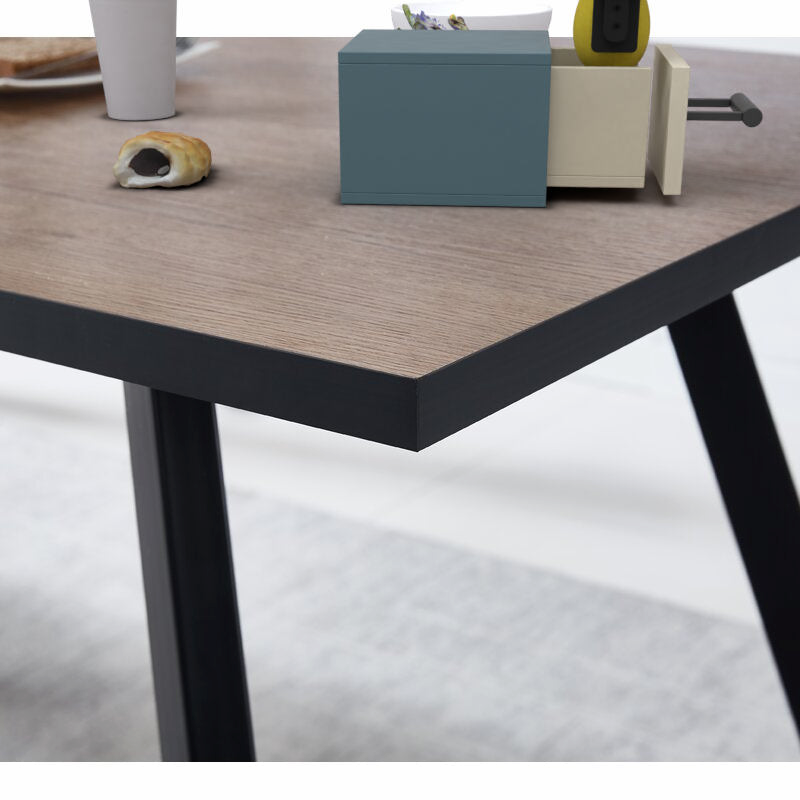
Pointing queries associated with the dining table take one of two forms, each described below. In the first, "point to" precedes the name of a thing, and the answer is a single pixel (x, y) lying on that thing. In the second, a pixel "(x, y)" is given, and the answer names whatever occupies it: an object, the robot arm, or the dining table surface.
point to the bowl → (479, 14)
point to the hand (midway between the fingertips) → (611, 44)
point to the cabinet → (445, 117)
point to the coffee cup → (137, 56)
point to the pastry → (162, 160)
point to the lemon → (591, 58)
